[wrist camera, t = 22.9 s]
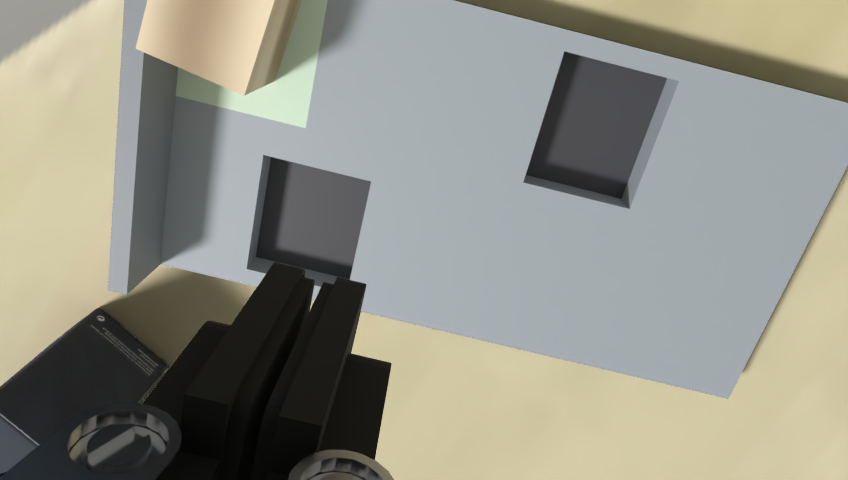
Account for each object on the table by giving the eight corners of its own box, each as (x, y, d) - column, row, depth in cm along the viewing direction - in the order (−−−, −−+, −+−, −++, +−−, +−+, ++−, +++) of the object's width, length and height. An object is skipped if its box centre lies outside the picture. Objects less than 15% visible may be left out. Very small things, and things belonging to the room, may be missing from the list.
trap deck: (852, 103, 33) (932, 125, 28) (715, 379, 40) (757, 442, 34) (186, -70, 32) (129, -84, 26) (158, 247, 38) (107, 290, 33)
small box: (95, 299, 40) (-21, 398, 30) (173, 366, 42) (87, 479, 32) (4, 389, 43) (-128, 505, 33) (80, 448, 45) (-25, 575, 35)
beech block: (306, -15, 31) (279, -16, 26) (274, 81, 32) (244, 95, 28) (209, -60, 30) (164, -69, 25) (182, 40, 32) (135, 48, 27)
